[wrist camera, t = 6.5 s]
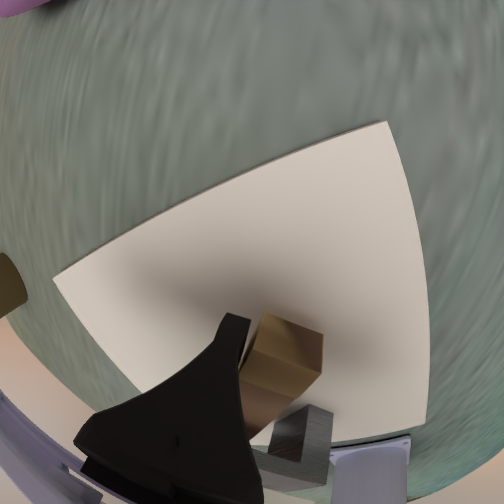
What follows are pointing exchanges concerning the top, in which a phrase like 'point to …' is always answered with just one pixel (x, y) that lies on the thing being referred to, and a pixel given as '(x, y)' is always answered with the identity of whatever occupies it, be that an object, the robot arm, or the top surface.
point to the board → (279, 279)
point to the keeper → (297, 451)
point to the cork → (10, 287)
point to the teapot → (18, 6)
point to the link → (277, 369)
